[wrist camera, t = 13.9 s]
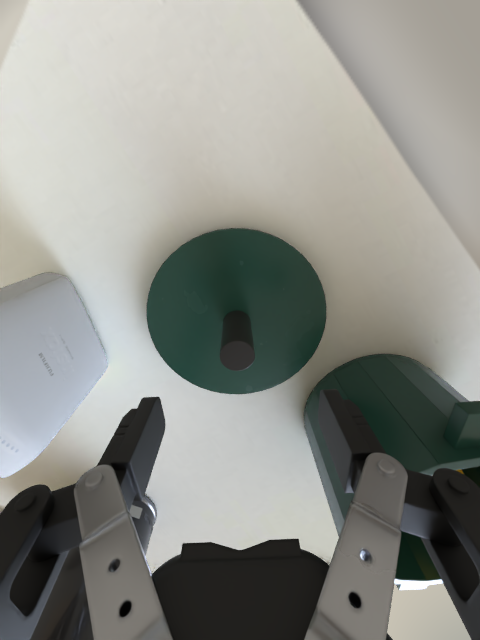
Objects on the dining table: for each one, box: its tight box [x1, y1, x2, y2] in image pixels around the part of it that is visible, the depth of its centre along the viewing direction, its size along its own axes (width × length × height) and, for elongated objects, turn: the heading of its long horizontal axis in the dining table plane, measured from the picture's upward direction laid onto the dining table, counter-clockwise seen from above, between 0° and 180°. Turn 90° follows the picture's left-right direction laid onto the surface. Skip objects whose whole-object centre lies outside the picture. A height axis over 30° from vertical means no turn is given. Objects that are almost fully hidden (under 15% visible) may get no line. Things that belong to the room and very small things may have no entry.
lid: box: [147, 228, 326, 394], centre depth 20 cm, size 16×16×7 cm
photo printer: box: [0, 273, 108, 478], centre depth 18 cm, size 10×4×12 cm, turn 10°
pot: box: [304, 354, 480, 590], centre depth 23 cm, size 15×20×12 cm
